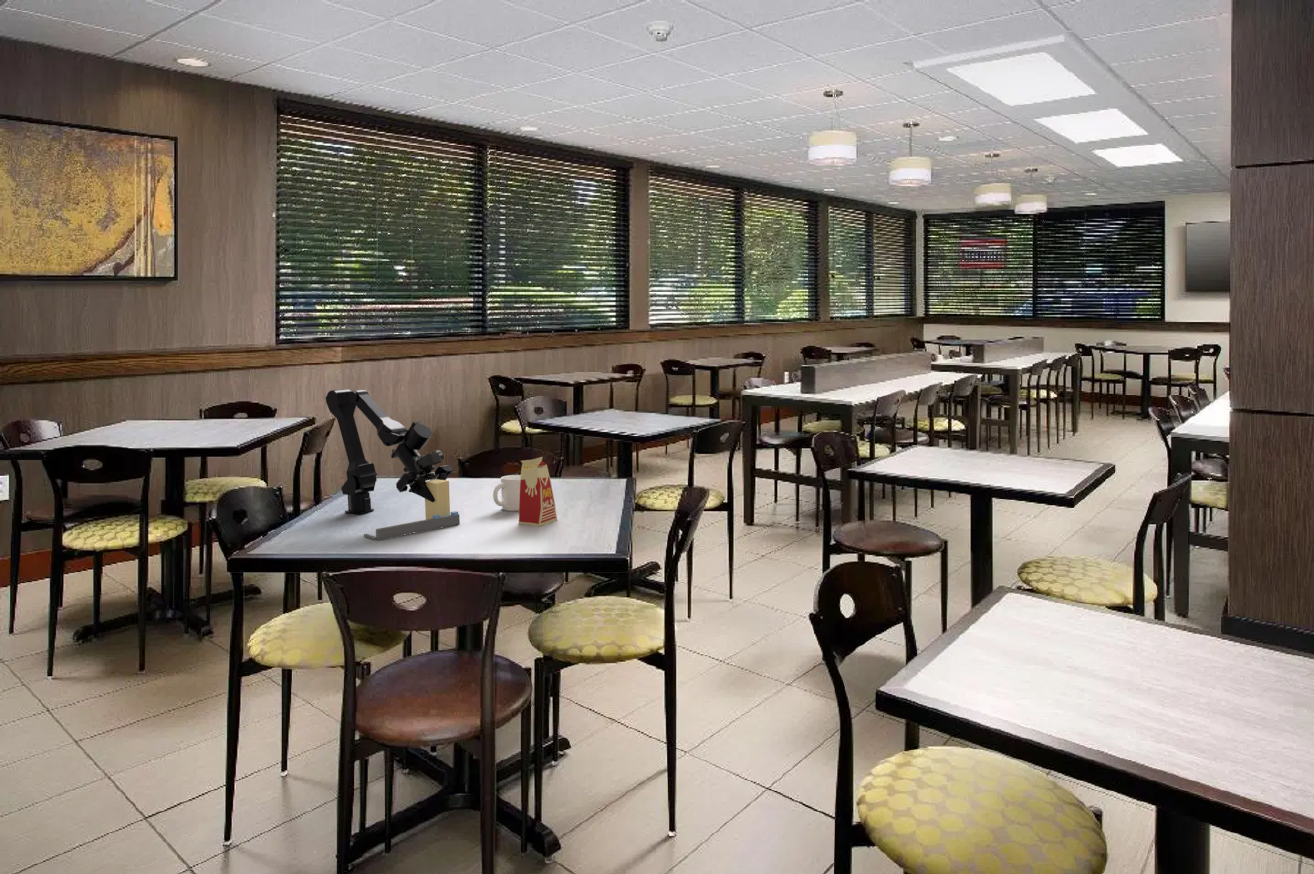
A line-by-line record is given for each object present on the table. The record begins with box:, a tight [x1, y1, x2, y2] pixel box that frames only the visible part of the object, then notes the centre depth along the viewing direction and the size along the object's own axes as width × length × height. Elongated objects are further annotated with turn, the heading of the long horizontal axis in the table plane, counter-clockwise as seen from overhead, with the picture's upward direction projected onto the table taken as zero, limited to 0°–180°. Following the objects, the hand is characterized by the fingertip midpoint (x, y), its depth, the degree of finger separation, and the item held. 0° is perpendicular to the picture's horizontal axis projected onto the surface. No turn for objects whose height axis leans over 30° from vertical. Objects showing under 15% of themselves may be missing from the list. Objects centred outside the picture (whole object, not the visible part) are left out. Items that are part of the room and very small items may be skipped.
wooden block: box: [424, 479, 451, 520], centre depth 261 cm, size 5×5×12 cm
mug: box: [492, 474, 521, 512], centre depth 280 cm, size 12×8×10 cm
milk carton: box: [518, 456, 558, 527], centre depth 262 cm, size 9×9×20 cm
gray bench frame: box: [363, 510, 461, 541], centre depth 254 cm, size 27×7×4 cm, turn 135°
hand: (440, 499), depth 260 cm, fingers closed on wooden block, 5 cm apart
